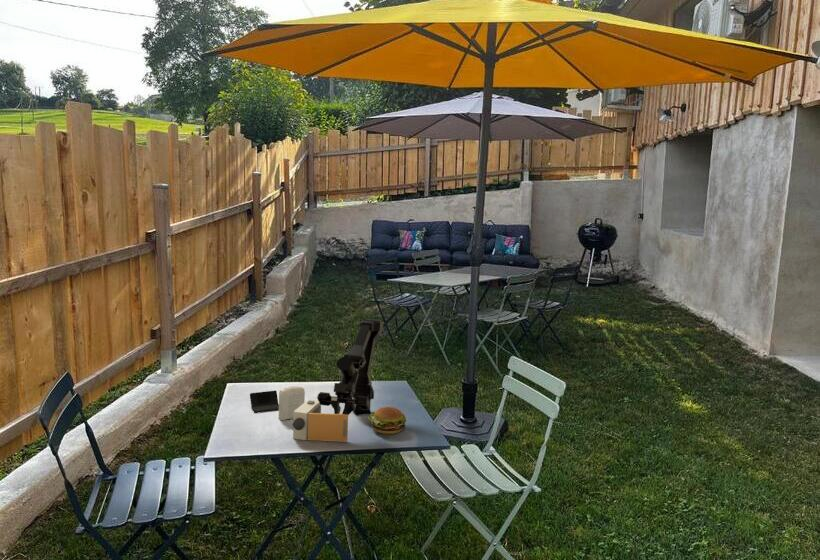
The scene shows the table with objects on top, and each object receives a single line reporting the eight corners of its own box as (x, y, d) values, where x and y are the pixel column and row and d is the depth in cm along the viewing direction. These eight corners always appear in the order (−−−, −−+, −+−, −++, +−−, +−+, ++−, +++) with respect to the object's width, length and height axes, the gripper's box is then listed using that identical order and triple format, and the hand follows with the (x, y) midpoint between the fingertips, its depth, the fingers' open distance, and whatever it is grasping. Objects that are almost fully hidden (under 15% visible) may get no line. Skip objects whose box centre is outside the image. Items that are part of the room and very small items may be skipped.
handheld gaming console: (256, 411, 242) (254, 387, 246) (250, 417, 247) (247, 393, 251) (284, 410, 249) (280, 386, 253) (276, 416, 254) (274, 393, 258)
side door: (347, 440, 221) (348, 414, 219) (347, 441, 220) (347, 415, 218) (307, 439, 220) (307, 412, 219) (306, 440, 219) (307, 414, 218)
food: (364, 423, 239) (365, 403, 237) (400, 421, 242) (401, 401, 241) (372, 437, 226) (372, 416, 224) (409, 434, 229) (410, 414, 228)
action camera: (308, 424, 235) (308, 397, 233) (320, 425, 234) (321, 398, 232) (291, 439, 220) (291, 411, 218) (304, 441, 219) (305, 413, 217)
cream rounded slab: (301, 413, 246) (302, 383, 244) (305, 416, 242) (306, 386, 241) (276, 417, 240) (277, 387, 238) (281, 421, 237) (281, 390, 235)
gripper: (319, 370, 225) (307, 410, 216) (368, 375, 221) (359, 415, 212) (326, 385, 233) (315, 423, 224) (373, 389, 230) (365, 429, 221)
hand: (338, 422), depth 220 cm, fingers closed
